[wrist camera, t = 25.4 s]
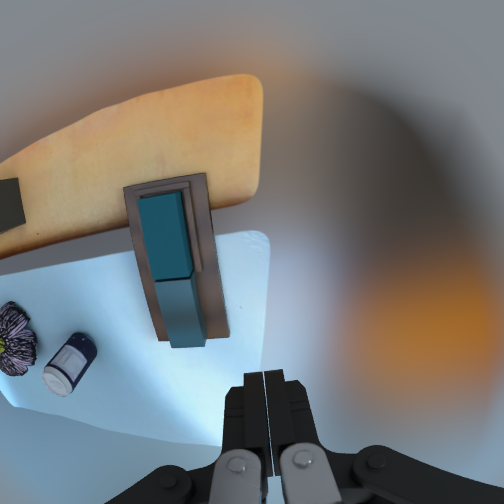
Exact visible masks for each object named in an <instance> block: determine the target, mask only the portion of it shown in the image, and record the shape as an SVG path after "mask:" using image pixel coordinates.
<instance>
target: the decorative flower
mask: <svg viewBox="0 0 504 504" xmlns="http://www.w3.org/2000/svg"><path fill="white" fill-rule="evenodd" d="M14 303H15V302H12V301H10V302H8V303H6V304H5V305H3V306H2V307H1V309H0V370H1V371H2V372H4V373H5V374H7V375H9V376H19V375H20V376H22V375H24V374H25V373H26V372H27V371H28V368H27V366H32V365H35V360H36V359H37V358H36V355H37V354H36V350H35V349H36V348H35V346H36V343H38V342H37V337H36V334H35V333H34V332H33V331H31V330H29V329H24V328H25V326H27V324H28V322H29V320H30V318H28V317H27V316H26V313H25V312H23V311H22V309H21V310H20V309H19V308H18V307H15V304H14Z"/></svg>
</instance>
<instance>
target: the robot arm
mask: <svg viewBox="0 0 504 504" xmlns="http://www.w3.org/2000/svg"><path fill="white" fill-rule="evenodd" d="M264 376H265V387H266V396H265V388H264V380H263V373H262V372H252V373H244V386H239V387H231V389H230V390H229V392H228V393H227V395H226V396H225V410H224V425H223V441H222V451H221V454H220V456H219V457H218V459H217V460H216V461H215V462H214V463H212V464H210V465H208V466H206V467H203V468H199V469H194V470H190V471H185V470H184V469H183V468H181V467H178V466H174V465H166V466H161V467H159V468H157V469H155V470H154V471H153V472H151V473H150V474H148V475H147V476H146V477H144V478H143V479H141V480H140V481H138V482H137V483H135V484H134V485H133V486H131V487H130V488H128V489H127V490H125V491H124V492H122V493H121V494H119V495H117V496H116V497H114V498H113V499H111V500H110V501H108V502H106V503H104V504H267V493H268V482H267V481H268V480H267V477H272V476H273V469H272V459H271V449H272V456H273V464H274V472H275V476H281V483H282V492H283V498H284V502H285V504H504V488H502V487H497V486H493V485H489V484H485V483H482V482H478V481H474V480H472V479H468V478H465V477H462V476H459V475H456V474H453V473H450V472H447V471H444V470H441V469H439V468H436V467H433V466H430V465H428V464H426V463H423V462H420V461H418V460H415V459H413V458H411V457H408V456H406V455H404V454H401V453H399V452H397V451H394V450H392V449H390V448H388V447H385V446H381V445H373V446H369V447H366V448H364V449H362V450H361V451H359V452H358V453H357V454H345V453H335V452H331V451H329V450H327V449H326V448H324V447H323V446H322V445H321V443H320V442H319V439H318V436H317V432H316V428H315V424H314V420H313V416H312V412H311V409H310V404H309V401H308V396H307V392H306V389H305V387H304V386H303V385H302V384H301V383H300V382H299V381H298V380H294V381H286V382H285V379H284V374H283V369H279V370H271V371H264ZM266 397H267V405H266ZM267 408H268V415H267ZM268 418H269V426H268ZM269 428H270V437H269ZM270 439H271V447H270Z"/></svg>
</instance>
